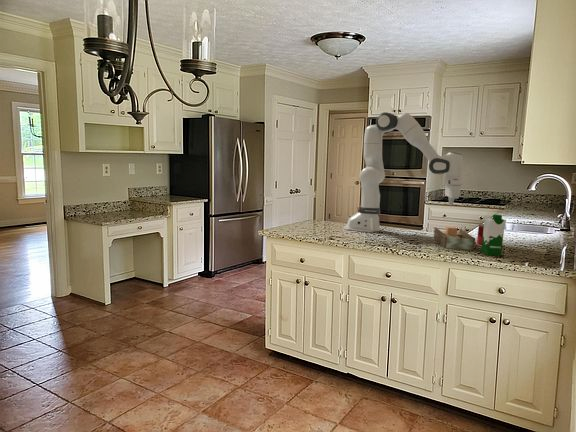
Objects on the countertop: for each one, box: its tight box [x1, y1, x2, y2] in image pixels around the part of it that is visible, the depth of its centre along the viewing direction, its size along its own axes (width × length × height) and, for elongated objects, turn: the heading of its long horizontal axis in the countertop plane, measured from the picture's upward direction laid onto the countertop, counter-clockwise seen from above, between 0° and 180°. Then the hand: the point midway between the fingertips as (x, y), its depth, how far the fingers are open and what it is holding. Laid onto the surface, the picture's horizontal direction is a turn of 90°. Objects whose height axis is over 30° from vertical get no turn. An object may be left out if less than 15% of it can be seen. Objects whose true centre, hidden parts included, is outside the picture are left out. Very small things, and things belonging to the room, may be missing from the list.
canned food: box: [476, 223, 484, 246], centre depth 239 cm, size 8×8×11 cm
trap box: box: [433, 226, 476, 251], centre depth 239 cm, size 15×28×6 cm, turn 172°
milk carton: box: [480, 214, 507, 257], centre depth 216 cm, size 9×9×20 cm
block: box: [445, 225, 458, 235], centre depth 244 cm, size 5×5×4 cm
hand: (450, 205), depth 250 cm, fingers closed
